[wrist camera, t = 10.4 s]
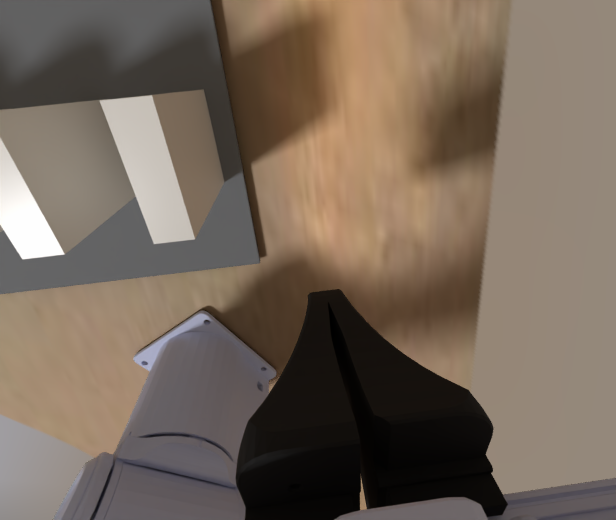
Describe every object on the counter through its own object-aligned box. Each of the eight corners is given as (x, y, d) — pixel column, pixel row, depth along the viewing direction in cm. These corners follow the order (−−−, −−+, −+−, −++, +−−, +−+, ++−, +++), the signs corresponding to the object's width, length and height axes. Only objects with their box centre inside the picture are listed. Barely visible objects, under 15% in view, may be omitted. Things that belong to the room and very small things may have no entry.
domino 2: (203, 89, 17) (151, 95, 10) (224, 182, 19) (195, 239, 12) (173, 92, 16) (99, 100, 10) (198, 185, 19) (154, 244, 12)
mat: (198, -66, 14) (196, -70, 14) (260, 260, 22) (259, 263, 22) (-375, -19, 13) (-393, -22, 13) (-84, 301, 22) (-90, 304, 21)
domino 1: (108, 98, 16) (-15, 111, 9) (142, 191, 19) (64, 254, 12) (77, 102, 16) (-69, 117, 9) (115, 194, 19) (22, 259, 12)
